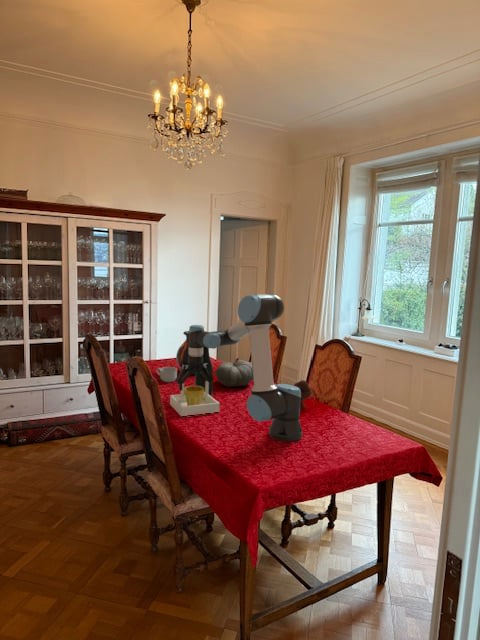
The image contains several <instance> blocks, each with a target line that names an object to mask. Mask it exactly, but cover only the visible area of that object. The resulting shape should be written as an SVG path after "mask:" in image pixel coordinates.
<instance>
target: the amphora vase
mask: <svg viewBox="0 0 480 640" xmlns="http://www.w3.org/2000/svg"><path fill="white" fill-rule="evenodd" d="M183 335H184V336H185V337H186V339H185V340H184V341H183V343H182V344H181V345H180V346H179V347H178V348H177V352H176V356H175V357H176V358H175V359H176V364H177V366H178V367H179V368H180V369H179V372H180V371H181V369H182V365H188V356H189V330H185V331H184V332H183ZM187 371H188V368H187V369H186V370H185V372H184V374H183V375H185V374H186V372H187ZM189 376H195V373H191V374H190V375H189Z"/></svg>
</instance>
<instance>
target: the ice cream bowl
mask: <svg viewBox="0 0 480 640" xmlns="http://www.w3.org/2000/svg"><path fill="white" fill-rule="evenodd" d="M293 386H296V387H298V388H299V389H300V390H301V403H300V409H306V404H304V402H303V401H304V400H307V399H308V398H310V396H311V395H312V392H313V389H312V388H311V387H310V386H309V383H308V382H307V380H303V379H302V380H299V381H298V382H295V383H294V384H293Z"/></svg>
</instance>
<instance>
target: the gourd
mask: <svg viewBox="0 0 480 640" xmlns="http://www.w3.org/2000/svg"><path fill="white" fill-rule="evenodd" d="M215 377H216V379H217V380H218V382H219V383H220V384H221V385H223V386H225V387H228V388H232V387H244V386H247V385H249V384H250V383H251V382H252V381H254V380H253V369H252V362H250V361H246V360H242V359H239V357H236V359H235V361H233V362H229V361H228V362H223V363H220V365H218V366H217V367H216V370H215Z"/></svg>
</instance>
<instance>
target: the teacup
mask: <svg viewBox="0 0 480 640" xmlns="http://www.w3.org/2000/svg"><path fill="white" fill-rule="evenodd" d="M156 374H157V375H158V376H159V378H160V380H161V381H162V382H163V383H173V382H175V381H176V379H177V377H178V368H177V367H174V366H163V367H157V368H156Z"/></svg>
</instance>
